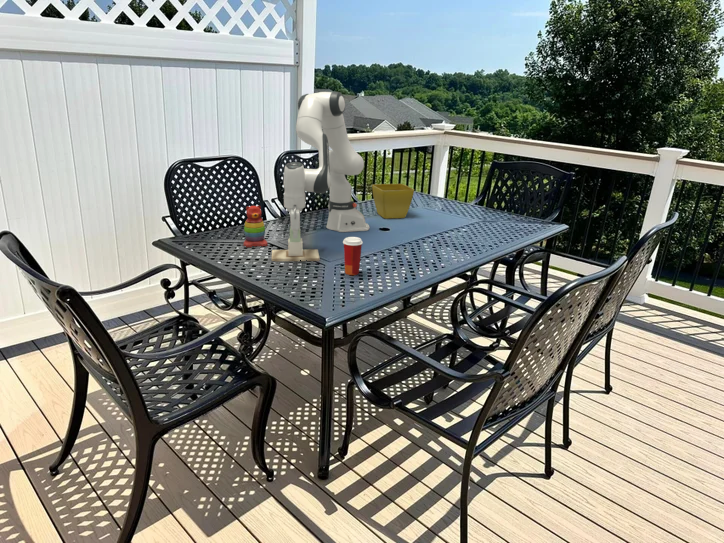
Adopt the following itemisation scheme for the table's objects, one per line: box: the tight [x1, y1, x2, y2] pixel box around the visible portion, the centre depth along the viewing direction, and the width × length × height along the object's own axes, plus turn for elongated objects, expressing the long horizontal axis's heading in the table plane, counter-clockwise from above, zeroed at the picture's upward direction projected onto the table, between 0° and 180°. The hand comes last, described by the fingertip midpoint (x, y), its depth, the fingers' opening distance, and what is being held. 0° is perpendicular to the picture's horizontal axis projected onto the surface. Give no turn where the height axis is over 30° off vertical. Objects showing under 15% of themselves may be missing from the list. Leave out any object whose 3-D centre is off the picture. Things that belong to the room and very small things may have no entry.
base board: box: [271, 248, 320, 262], centre depth 221 cm, size 20×12×1 cm, turn 98°
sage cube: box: [288, 226, 301, 242], centre depth 218 cm, size 4×4×6 cm
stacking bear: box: [242, 205, 269, 248], centre depth 233 cm, size 11×10×18 cm
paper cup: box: [342, 236, 364, 276], centre depth 202 cm, size 8×8×14 cm
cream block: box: [287, 237, 304, 256], centre depth 220 cm, size 6×6×6 cm
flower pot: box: [371, 183, 415, 220], centre depth 291 cm, size 19×19×17 cm
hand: (295, 234), depth 218 cm, fingers open, 8 cm apart
